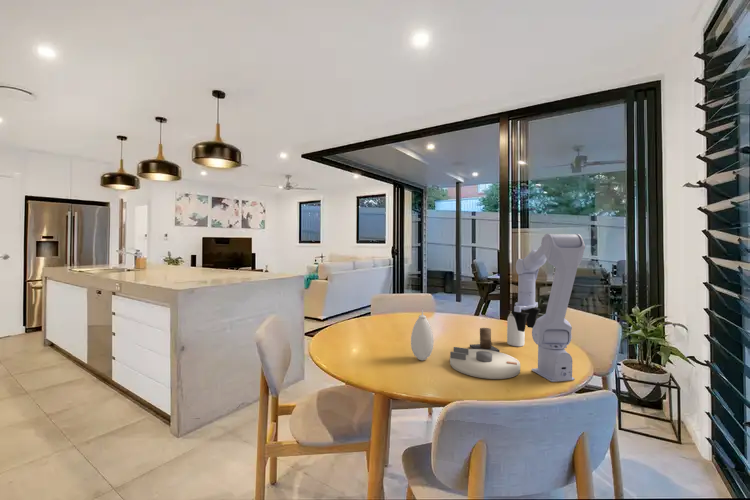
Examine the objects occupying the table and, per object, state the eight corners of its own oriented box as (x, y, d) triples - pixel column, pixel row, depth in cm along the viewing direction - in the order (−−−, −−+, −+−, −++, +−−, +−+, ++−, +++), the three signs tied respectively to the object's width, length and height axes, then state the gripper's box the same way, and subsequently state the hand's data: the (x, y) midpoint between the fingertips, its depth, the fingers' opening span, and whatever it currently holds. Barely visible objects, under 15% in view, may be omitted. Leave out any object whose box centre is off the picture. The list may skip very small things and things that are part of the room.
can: (506, 345, 136) (506, 315, 135) (508, 341, 141) (508, 312, 141) (523, 347, 133) (524, 317, 132) (525, 343, 138) (525, 314, 138)
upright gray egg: (432, 364, 114) (433, 310, 114) (409, 362, 116) (410, 309, 115) (433, 356, 122) (434, 306, 121) (411, 355, 123) (412, 305, 123)
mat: (499, 352, 127) (499, 349, 127) (479, 353, 125) (479, 351, 125) (488, 346, 135) (488, 343, 135) (469, 347, 133) (469, 344, 133)
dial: (520, 359, 118) (520, 348, 118) (519, 384, 98) (520, 370, 98) (456, 351, 127) (456, 340, 127) (443, 371, 107) (443, 359, 107)
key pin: (493, 347, 129) (493, 329, 129) (486, 349, 127) (486, 330, 127) (484, 345, 132) (484, 327, 132) (477, 347, 130) (477, 328, 130)
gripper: (524, 289, 132) (524, 324, 132) (506, 292, 122) (505, 330, 123) (543, 291, 126) (543, 327, 127) (525, 295, 117) (525, 334, 117)
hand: (526, 329), depth 124 cm, fingers open, 7 cm apart
